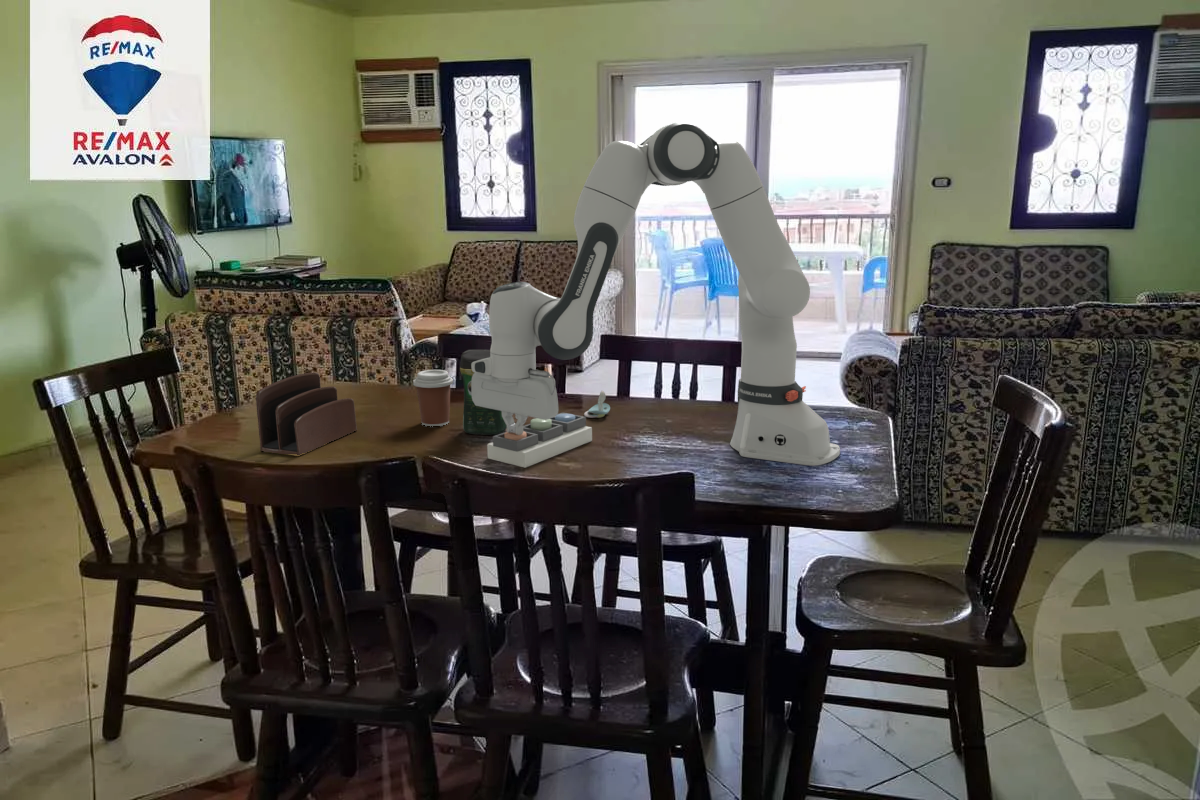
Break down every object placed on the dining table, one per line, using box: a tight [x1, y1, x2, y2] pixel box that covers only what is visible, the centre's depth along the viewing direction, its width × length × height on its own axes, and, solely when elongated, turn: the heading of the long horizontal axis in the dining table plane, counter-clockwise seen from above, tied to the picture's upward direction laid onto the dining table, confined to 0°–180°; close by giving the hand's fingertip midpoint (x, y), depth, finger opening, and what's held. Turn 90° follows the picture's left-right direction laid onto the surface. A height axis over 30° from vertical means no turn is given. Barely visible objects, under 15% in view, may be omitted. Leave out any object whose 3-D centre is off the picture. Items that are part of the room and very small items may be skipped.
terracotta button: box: [504, 431, 527, 441], centre depth 168 cm, size 4×4×2 cm
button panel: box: [487, 412, 593, 468], centre depth 175 cm, size 10×22×5 cm, turn 144°
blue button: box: [555, 413, 576, 422], centre depth 181 cm, size 4×4×2 cm
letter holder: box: [255, 372, 358, 455], centre depth 180 cm, size 10×20×14 cm, turn 160°
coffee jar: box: [459, 349, 507, 436], centre depth 187 cm, size 10×8×19 cm
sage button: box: [529, 418, 552, 431], centre depth 174 cm, size 4×4×2 cm
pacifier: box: [583, 390, 611, 419], centre depth 201 cm, size 7×6×6 cm
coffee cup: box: [412, 369, 454, 428], centre depth 194 cm, size 9×9×12 cm
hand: (515, 433), depth 168 cm, fingers closed, pressing on terracotta button
